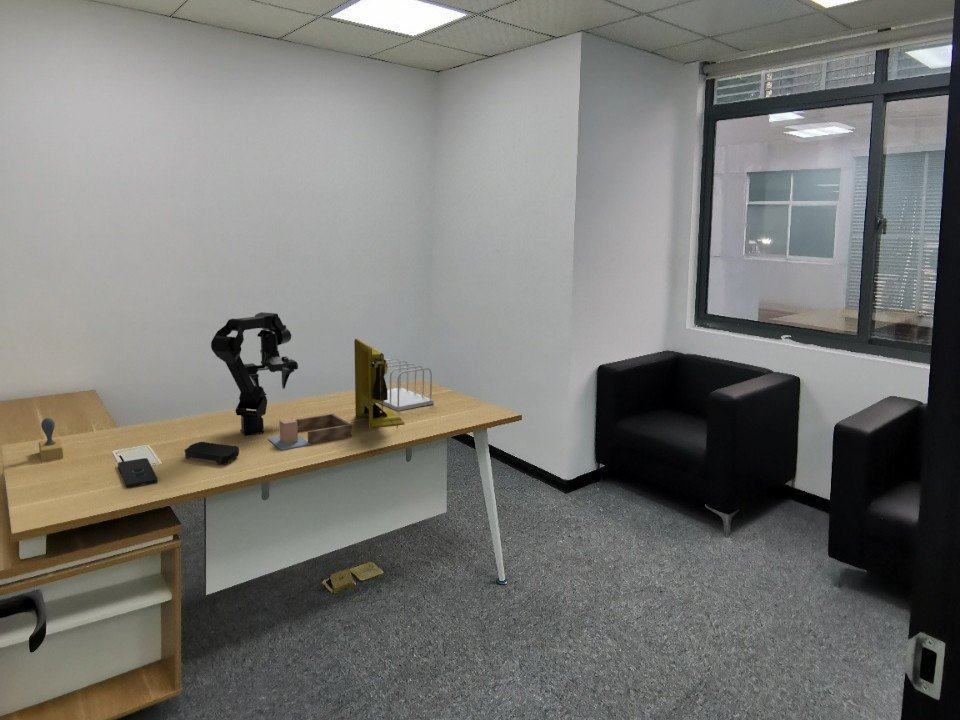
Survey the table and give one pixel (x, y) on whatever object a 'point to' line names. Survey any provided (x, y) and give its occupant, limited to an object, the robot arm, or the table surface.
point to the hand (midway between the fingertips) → (271, 390)
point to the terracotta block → (288, 431)
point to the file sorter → (403, 397)
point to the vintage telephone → (372, 386)
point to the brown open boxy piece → (337, 431)
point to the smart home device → (137, 473)
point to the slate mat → (283, 446)
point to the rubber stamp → (50, 443)
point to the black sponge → (211, 452)
